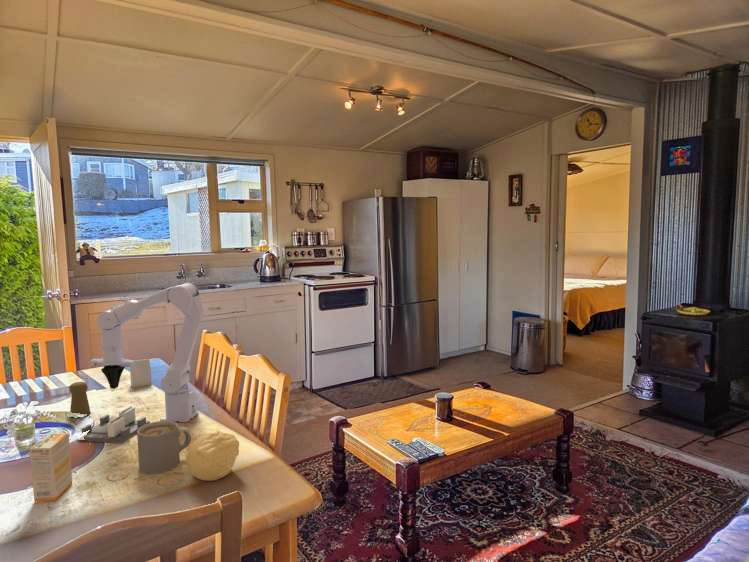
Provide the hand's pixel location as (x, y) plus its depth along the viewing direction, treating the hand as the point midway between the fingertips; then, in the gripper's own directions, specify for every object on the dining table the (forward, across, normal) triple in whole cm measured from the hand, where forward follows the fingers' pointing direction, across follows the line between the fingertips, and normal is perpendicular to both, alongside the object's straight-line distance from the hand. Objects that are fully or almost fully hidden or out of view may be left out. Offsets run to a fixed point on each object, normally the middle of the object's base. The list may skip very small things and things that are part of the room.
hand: (114, 387), depth 164 cm
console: (+10, +8, -11) cm, 17 cm away
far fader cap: (+8, +9, -7) cm, 14 cm away
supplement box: (+10, +16, -45) cm, 49 cm away
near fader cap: (+8, +11, -15) cm, 20 cm away
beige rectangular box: (+10, -12, +32) cm, 36 cm away
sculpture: (+10, +49, -31) cm, 59 cm away
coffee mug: (+10, +34, -27) cm, 45 cm away
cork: (+10, -13, 0) cm, 16 cm away
